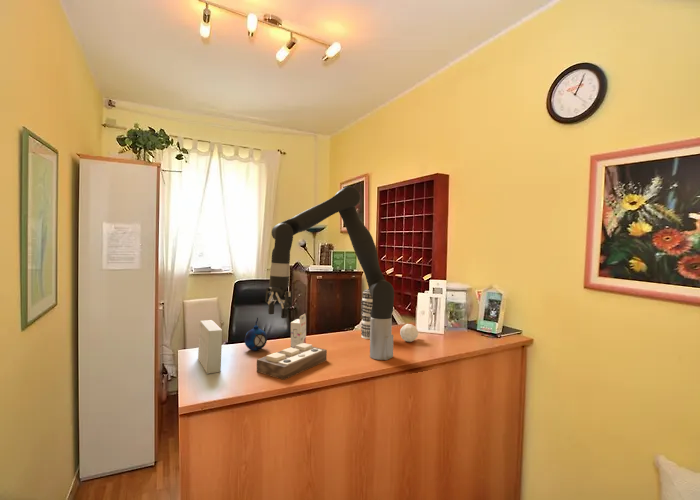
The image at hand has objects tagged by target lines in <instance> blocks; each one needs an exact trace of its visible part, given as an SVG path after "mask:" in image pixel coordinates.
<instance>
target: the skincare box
mask: <svg viewBox="0 0 700 500" xmlns="http://www.w3.org/2000/svg"><path fill="white" fill-rule="evenodd" d="M222 345H223V329H222V328H221V327H220V326H219V325H218V324H217V323H216V322H215V321H214V320H212V319H209V320H208V319H205V320H199V335H198V352H197V353H198V354H197V359H198V360H199V362H200V364H201V366H202V368H203V369H204V372H205V373H206V374H209V375H210V374H216V373H220V372H221V371H222Z"/></svg>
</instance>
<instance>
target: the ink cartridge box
mask: <svg viewBox="0 0 700 500" xmlns="http://www.w3.org/2000/svg"><path fill="white" fill-rule="evenodd" d="M301 343H306V344H307V316H306V313H304V314H301V315H300V316H299V318H296V319H294V320H293V321H291V322H290V347H294V346H296V345H299V344H301Z"/></svg>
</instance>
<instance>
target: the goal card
mask: <svg viewBox="0 0 700 500" xmlns="http://www.w3.org/2000/svg"><path fill="white" fill-rule="evenodd" d="M316 348H317V347H316ZM316 348H313V349H311V350H308V351H305V352H303V353H300V354H298V355H295V356H292V357H290V358H287V359H285V360H282V361H279V362H278V363H280V364H284V365H289V364H291V363H294V362H296V361H299V360H301V359H303V358H306V357H308V356H311V355H313V354H316V353H318V352H321V351H323V350H320V349H316Z"/></svg>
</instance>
